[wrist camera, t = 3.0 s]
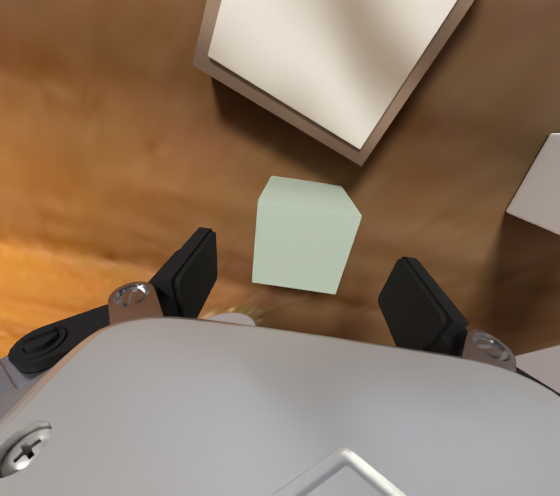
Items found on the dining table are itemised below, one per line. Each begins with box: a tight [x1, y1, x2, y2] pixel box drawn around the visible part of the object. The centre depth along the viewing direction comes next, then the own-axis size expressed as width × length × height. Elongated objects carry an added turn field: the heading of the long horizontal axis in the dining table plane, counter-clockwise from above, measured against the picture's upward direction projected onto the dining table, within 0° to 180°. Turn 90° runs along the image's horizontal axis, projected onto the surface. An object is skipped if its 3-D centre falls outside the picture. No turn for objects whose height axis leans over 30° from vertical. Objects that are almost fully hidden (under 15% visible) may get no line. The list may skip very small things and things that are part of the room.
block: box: [252, 176, 362, 294], centre depth 17 cm, size 6×6×7 cm
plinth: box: [192, 0, 474, 166], centre depth 12 cm, size 12×12×3 cm
